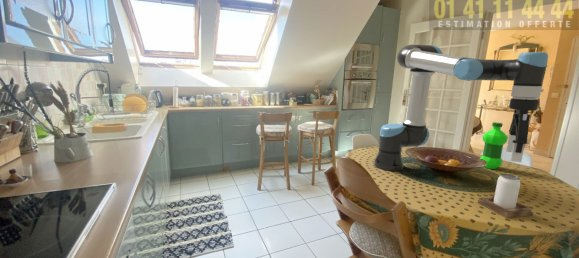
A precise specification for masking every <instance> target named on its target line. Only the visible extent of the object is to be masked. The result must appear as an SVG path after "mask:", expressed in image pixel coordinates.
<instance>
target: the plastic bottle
mask: <svg viewBox="0 0 579 258" xmlns="http://www.w3.org/2000/svg"><path fill="white" fill-rule="evenodd" d="M491 127H492V129H490V130H488V131H486V132H485V133H483V135H482V141H483V142H484V146H483V153H482V155H481V156H480V158H479V160H480V159H483V160H485V161H486V162H487V165H486V166H485V167H484V168H486V169H490V170H495V169H498V168H499V167H500V166H501V165H502V164H503V159H502V155H503V154H502V153H503V149H504V148H503V147H504V145H505V144H506V143H508V138H509V137H508V135H507V134H506V133H505V132H504V131H503V130H501V128H502V127H503V123H502V122H496V121H495V122H492V124H491Z"/></svg>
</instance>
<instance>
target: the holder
mask: <svg viewBox="0 0 579 258" xmlns="http://www.w3.org/2000/svg"><path fill="white" fill-rule="evenodd" d="M494 197H495V195H491V196H490V195H489V196H482V197H480V199H479V200H477V203H478V204H479V205H481V206H483V207H485V208H487V209H488V208H489V209H488V210H490V211H492V212H494V213H495V214H498V215H500V216H501V215H502V217H503V216H504V217H503V218H505V219H511V218H512V217H513V218H520V217H521V218H522V217H528V216H529V217H531V216H533V215H534V212H532V210H533V209H532V208H531V207H529V206H528V205H525V204H523V203H521V202H519V201H517V203H516V207H515V209H509V210H507V209H505V208H503V207H501V206H499V205H497V204H495V203H494Z"/></svg>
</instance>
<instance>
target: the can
mask: <svg viewBox="0 0 579 258" xmlns="http://www.w3.org/2000/svg"><path fill="white" fill-rule="evenodd" d="M520 179H521V178H520V177H519V176H517V175H514V174H510V173H500V175H499V176H498V178H497V181H496V186H495V192H494V196H495V197H494V203H495V204H497V205H499V206H501V207H503V208H505V209H507V210H509V209H515V207H516V203H517V202H518V197H519V192H520V187H521V180H520Z"/></svg>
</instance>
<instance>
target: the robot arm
mask: <svg viewBox="0 0 579 258" xmlns="http://www.w3.org/2000/svg"><path fill="white" fill-rule="evenodd" d="M396 58H397V59H396V60H397V63H398V64H399V65H400V67H402V68H404V69H410V70H409V71H410V74H412V75H411V76H412V80H411V84H410V93H409V99H408V106H407V112H406V118H405V119H404V120H403V121H402V124H401V123H387V124H383V125H382V126H381V127H380V131H379V143H378V152H377V154H376V157H375V158H374V166H375V167H376V168H379V169H380V168H381V169H380V170H384V171H391V172H393V171H394V172H396V171H402V170H403V169H404V160H403V156H402V148H412V147H413V148H414V147H416V148H417V147H420V146H424V145H425V144H426V143H427V142H428V140H429V138H430V131H429V128H428V126H426V125H427V123H426V122H425V121H424V120H425V116H426V115H425V113H426V109H427V102H428V96H429V91H430V85H431V80H432V76H433V75H434V74H436V73H439V74H443V75H448V76H452V77H456V78H457V79H458V80H460V81H469V82H470V81H511V82H513V85H512V88H511V89H512V90H511V94H510V97H512V98H511V99H509V100H510V101H509V105H508V108H509V109H510V110H514V111H513V115H512V119H511V123H510V127H509V129H508V133H509V135H508V137H507V138H508V139H507V142H506V143H507V145H506V150H505V151H506V152H508V153H511V155H510V156H511V157H510V161H511V162H517V163H522V160H523V155H524V152H525V151H524V150H525V146H526V144H527V143H528V136H529V135H528V134H529V126H530V119H531V114H529V111H531V112H532V111H533V112H534V111H537V110H538V108H539V103H540V100H539V99H540V98H541V93H544V91H545V90H544V89H543V83H544V79H545V75H546V72H547V71H546V69H547V67H548V62H549V61H548V59H549V54H548V53H547V52H544V51H530V52H529V51H528V52H521V53H519V55H518V57H517V58H516V59H484V58H483V59H479V58H471V57H464V56H457V55H451V54H450V55H449V54H444V53H443V51H442V50H441V49H440V47H438V46H435V45H431V44H407V45H405V46H403V47H401V49H400V50H399V52H398V54H397V56H396Z"/></svg>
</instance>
